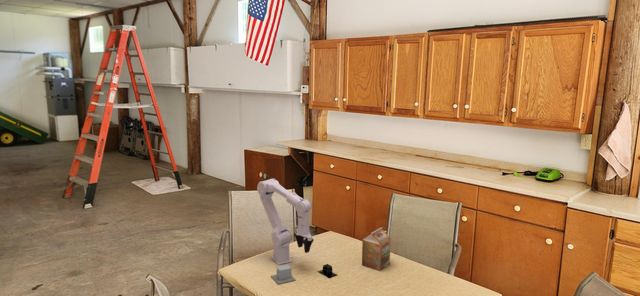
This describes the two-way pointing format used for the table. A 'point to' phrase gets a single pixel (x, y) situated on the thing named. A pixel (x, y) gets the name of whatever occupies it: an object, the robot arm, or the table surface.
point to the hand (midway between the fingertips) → (303, 249)
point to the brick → (284, 272)
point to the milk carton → (376, 250)
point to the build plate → (327, 271)
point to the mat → (282, 280)
